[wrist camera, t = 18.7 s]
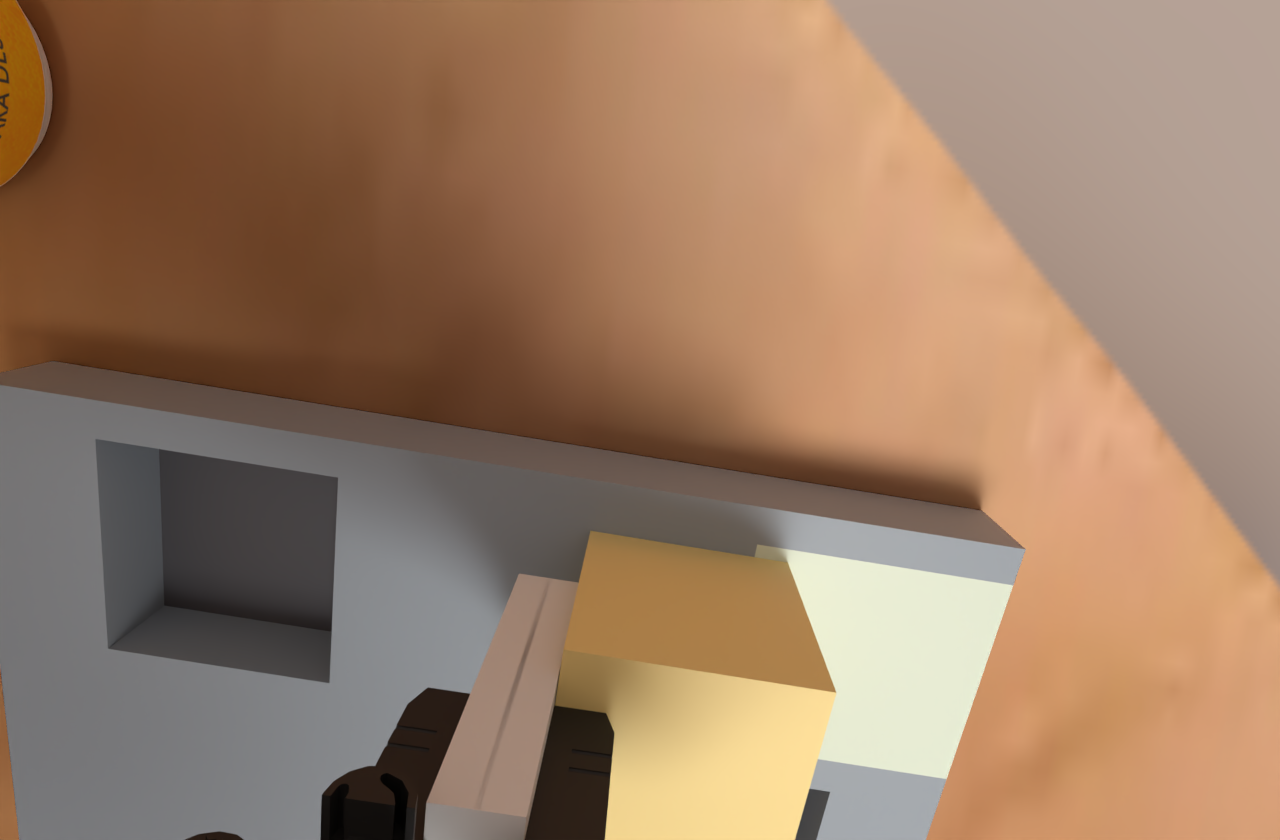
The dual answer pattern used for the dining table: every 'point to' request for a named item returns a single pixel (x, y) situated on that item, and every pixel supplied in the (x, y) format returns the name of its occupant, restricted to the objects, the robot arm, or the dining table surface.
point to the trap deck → (402, 598)
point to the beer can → (21, 90)
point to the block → (697, 689)
